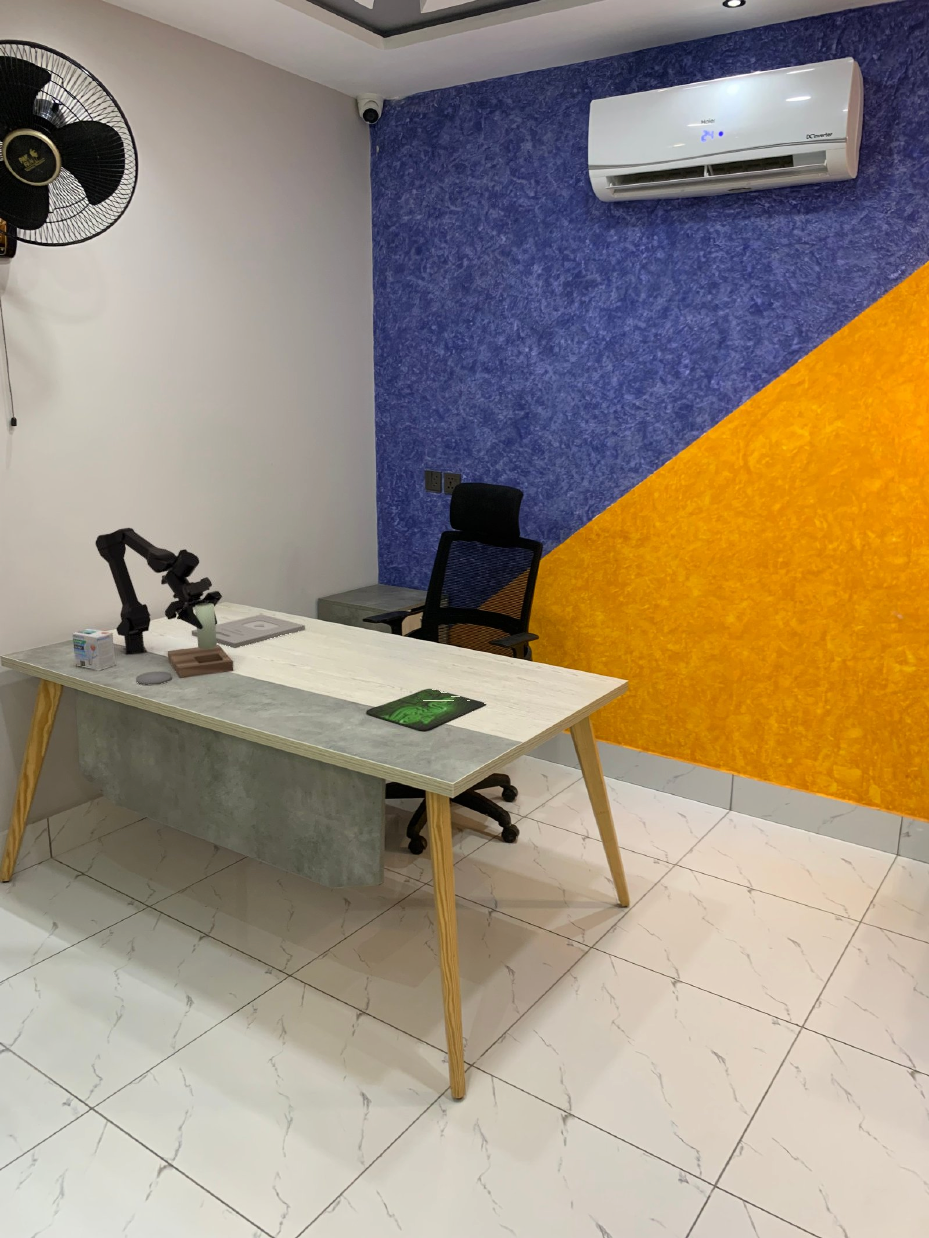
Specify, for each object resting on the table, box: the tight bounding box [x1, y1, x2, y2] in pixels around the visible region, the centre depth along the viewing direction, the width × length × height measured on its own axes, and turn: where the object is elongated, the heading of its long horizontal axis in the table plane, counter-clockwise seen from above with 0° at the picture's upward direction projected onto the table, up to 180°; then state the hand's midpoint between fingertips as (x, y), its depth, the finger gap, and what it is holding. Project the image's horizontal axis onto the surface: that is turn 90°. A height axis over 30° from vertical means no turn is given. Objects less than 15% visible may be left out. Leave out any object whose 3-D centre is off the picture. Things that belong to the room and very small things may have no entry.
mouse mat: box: [365, 688, 487, 732], centre depth 246 cm, size 27×22×1 cm
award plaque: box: [191, 614, 306, 649], centre depth 321 cm, size 25×30×2 cm
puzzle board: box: [166, 644, 234, 679], centre depth 284 cm, size 20×16×3 cm
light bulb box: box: [72, 628, 116, 670], centre depth 282 cm, size 11×7×11 cm, turn 62°
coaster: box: [135, 671, 173, 686], centre depth 270 cm, size 10×10×1 cm
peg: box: [194, 603, 218, 649], centre depth 278 cm, size 6×6×13 cm
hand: (209, 626), depth 277 cm, fingers closed on peg, 5 cm apart
